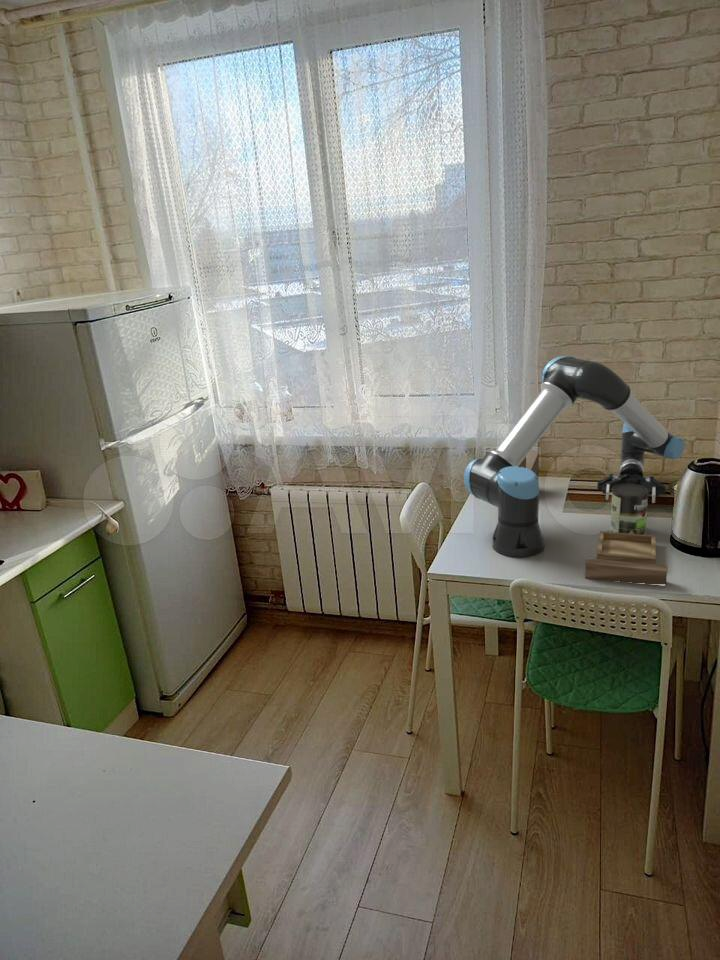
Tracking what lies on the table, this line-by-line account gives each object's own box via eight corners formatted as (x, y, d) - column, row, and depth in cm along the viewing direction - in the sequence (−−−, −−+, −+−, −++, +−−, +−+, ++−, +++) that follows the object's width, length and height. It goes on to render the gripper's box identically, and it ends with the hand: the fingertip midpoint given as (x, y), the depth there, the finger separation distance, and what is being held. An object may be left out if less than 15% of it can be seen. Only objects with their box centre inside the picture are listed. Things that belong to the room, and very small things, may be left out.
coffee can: (652, 532, 215) (656, 489, 210) (632, 543, 209) (635, 498, 204) (623, 522, 223) (625, 480, 218) (602, 532, 217) (604, 489, 212)
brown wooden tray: (654, 569, 193) (655, 559, 192) (596, 563, 198) (597, 553, 197) (654, 544, 206) (655, 535, 205) (600, 540, 211) (600, 531, 210)
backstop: (665, 588, 184) (667, 571, 182) (585, 579, 191) (585, 563, 190) (665, 582, 187) (666, 565, 185) (585, 574, 194) (586, 558, 192)
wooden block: (538, 490, 252) (539, 441, 246) (522, 499, 245) (522, 450, 239) (529, 488, 255) (530, 440, 248) (513, 497, 248) (513, 448, 241)
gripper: (671, 486, 236) (673, 511, 218) (592, 481, 245) (587, 505, 226) (672, 464, 233) (675, 488, 215) (593, 461, 242) (588, 483, 224)
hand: (630, 497), depth 221 cm, fingers open, 13 cm apart
